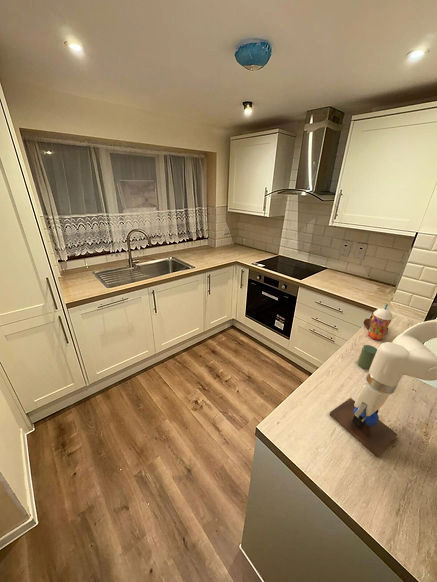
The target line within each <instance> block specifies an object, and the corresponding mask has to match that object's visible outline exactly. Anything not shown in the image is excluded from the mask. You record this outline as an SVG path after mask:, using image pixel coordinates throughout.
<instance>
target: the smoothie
mask: <svg viewBox="0 0 437 582" xmlns="http://www.w3.org/2000/svg"><path fill="white" fill-rule="evenodd" d="M387 308H388V303H386V304H385V306H384V307H380V308H378V309H376V310H374V311H373V313H372V315H371V316H372V320H371V324H370V327H369V329H368V331H367V334H368V337H369V338H370V339H371V340H375V341H381V339H383V338H384V336H385V334H386V332H387V331H386V330H387V328H388V329H389V326H390V324H391V322H392V321H393V318H394V317H393V314H392V312H391V310H389V309H387Z"/></svg>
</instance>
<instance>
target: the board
mask: <svg viewBox="0 0 437 582" xmlns="http://www.w3.org/2000/svg"><path fill="white" fill-rule="evenodd" d="M355 402H356V400H354V399H353V398H352V397H350V398H348V399H347V400H346V401H344V402H342V403H341V404H340V405H338V406H337V407H335V408H334V409H332V410H331V411H330V412H329V416H330V417H331V418H333V419H334V420H335V421H336V422H337V423H338V424H339V425H340V427H342V428H343V429H344V430H346V431H347V432H348V433H349V434H350V435H351V436H352V437H353V438H355V439H356V440H357V441H358V442H359V443H360V444H361V445H362V446H364V448H365V449H367V450H368V451H369V452H370V453H371V454H372V455H373V456H374V457H375V458H376V457H378V456H379V455H380V454H381V453H382V452H383V451H384V450H385V449H386V448H387V447H388V446H389V445H390V444H391V443H392V442H393V441H394V440H395V439H396V438H397V437H398V433H397V432H395V430H393V429H391V428H390V427H389V426H388V425H386V424H385V423H384V422H383V421H381V420H380V419H379V420H378V422H377V424H376V425H374V426H369V425H366V424H364V427H363V429H362V430H360V429H359V428H358V427H357V426H356V425H355V424H353V423H352V420H353V418H354V416H355V415H354V408H355V406H354V404H355Z"/></svg>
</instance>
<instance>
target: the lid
mask: <svg viewBox="0 0 437 582" xmlns="http://www.w3.org/2000/svg"><path fill="white" fill-rule="evenodd" d="M359 407H360V406H359ZM359 407H358V408H356V407H355V408H354V414H355V412H356V411H357V410H358V409H359ZM365 411H366V409H365ZM364 415H365V414H364V413H362V414H361V416H362V417H364ZM378 420H380V416H379V413H378V414H377V413H376V412H374V413H373V414H372V415H371V416H367V418H366V419H365V421H366V422H365V424H366V425H369V426H374V425H376V424H377V422H378Z"/></svg>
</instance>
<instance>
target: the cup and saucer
mask: <svg viewBox="0 0 437 582" xmlns="http://www.w3.org/2000/svg"><path fill="white" fill-rule="evenodd" d="M372 316H373V315H370V317H369V318H365V319H364V320H363V326H364V327H366V328H367V329H368V330H369V327H370V324H371V320H372ZM388 331H389V327H388V328H387V330H386V332H388Z"/></svg>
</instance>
